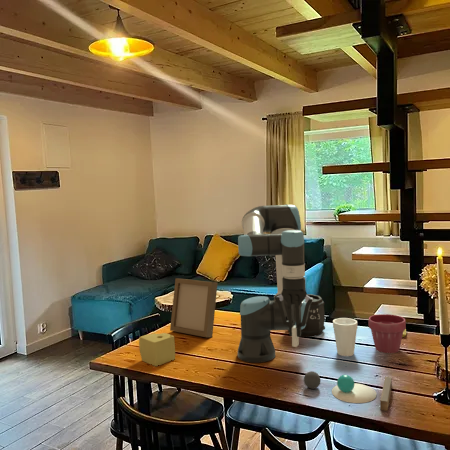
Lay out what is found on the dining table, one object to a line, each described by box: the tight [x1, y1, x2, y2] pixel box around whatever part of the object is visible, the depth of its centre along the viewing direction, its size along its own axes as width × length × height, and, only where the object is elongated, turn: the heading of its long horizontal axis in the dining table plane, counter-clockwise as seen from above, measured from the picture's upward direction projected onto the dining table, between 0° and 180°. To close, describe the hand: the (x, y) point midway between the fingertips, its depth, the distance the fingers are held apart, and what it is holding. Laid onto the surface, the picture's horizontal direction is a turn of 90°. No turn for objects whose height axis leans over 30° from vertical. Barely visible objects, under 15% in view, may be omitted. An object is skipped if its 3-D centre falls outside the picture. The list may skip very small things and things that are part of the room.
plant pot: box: [368, 313, 407, 354], centre depth 187 cm, size 14×14×13 cm
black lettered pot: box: [287, 293, 326, 338], centre depth 213 cm, size 18×18×16 cm
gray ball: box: [303, 371, 322, 390], centre depth 156 cm, size 6×6×6 cm
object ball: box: [336, 374, 355, 393], centre depth 152 cm, size 6×6×6 cm
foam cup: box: [332, 317, 358, 357], centre depth 185 cm, size 10×9×13 cm
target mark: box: [331, 382, 378, 404], centre depth 151 cm, size 14×14×1 cm
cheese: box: [138, 332, 176, 367], centre depth 186 cm, size 10×11×10 cm
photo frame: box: [169, 277, 218, 338], centre depth 220 cm, size 15×22×25 cm
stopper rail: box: [379, 376, 393, 412], centre depth 147 cm, size 2×18×3 cm, turn 157°
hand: (295, 345), depth 157 cm, fingers closed
